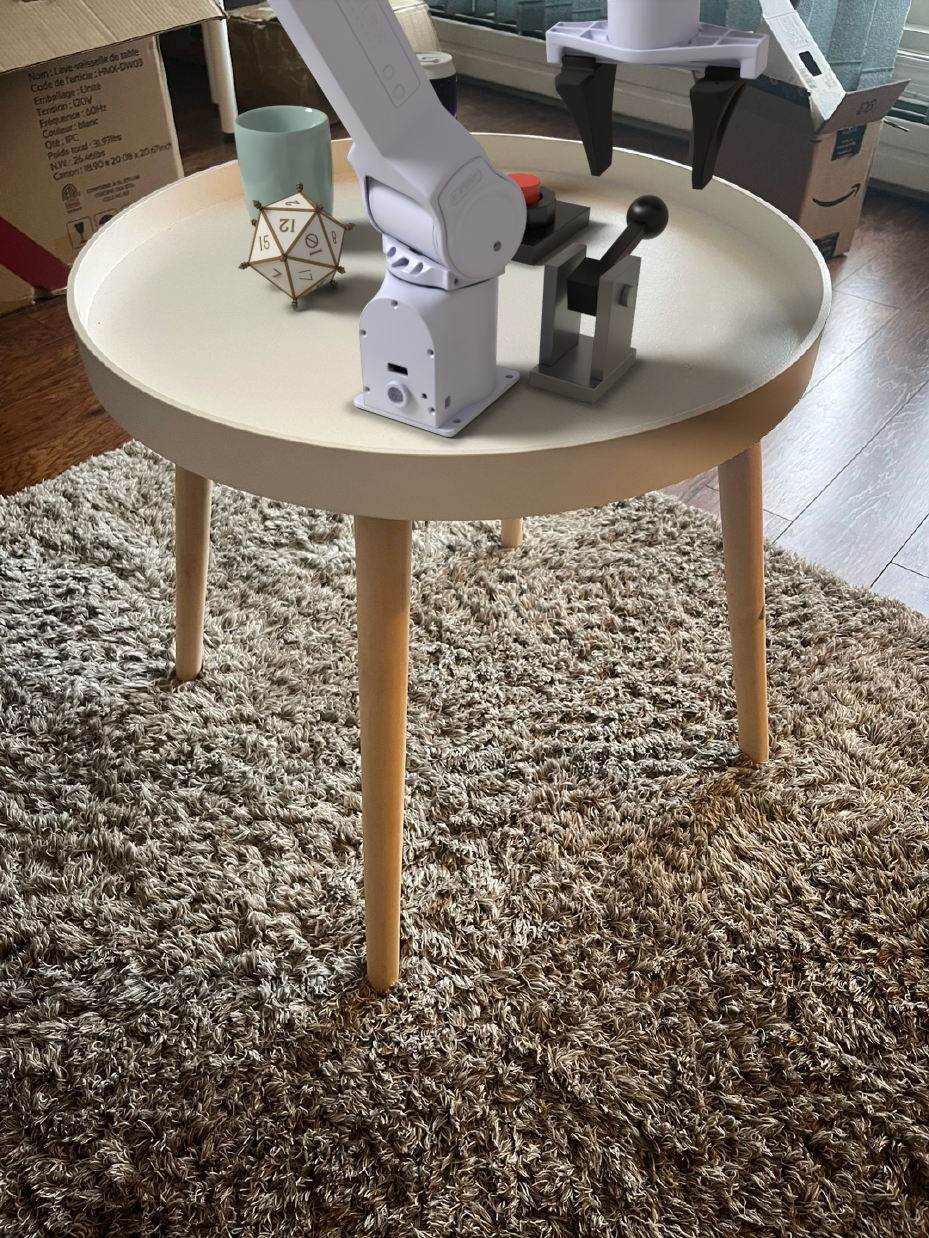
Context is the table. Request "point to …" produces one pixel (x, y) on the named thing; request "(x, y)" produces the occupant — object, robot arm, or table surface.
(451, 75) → the beverage can
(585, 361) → the switch bracket
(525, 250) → the control block
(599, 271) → the switch lever
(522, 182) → the stop button
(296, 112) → the cup
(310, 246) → the game die
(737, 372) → the table surface
